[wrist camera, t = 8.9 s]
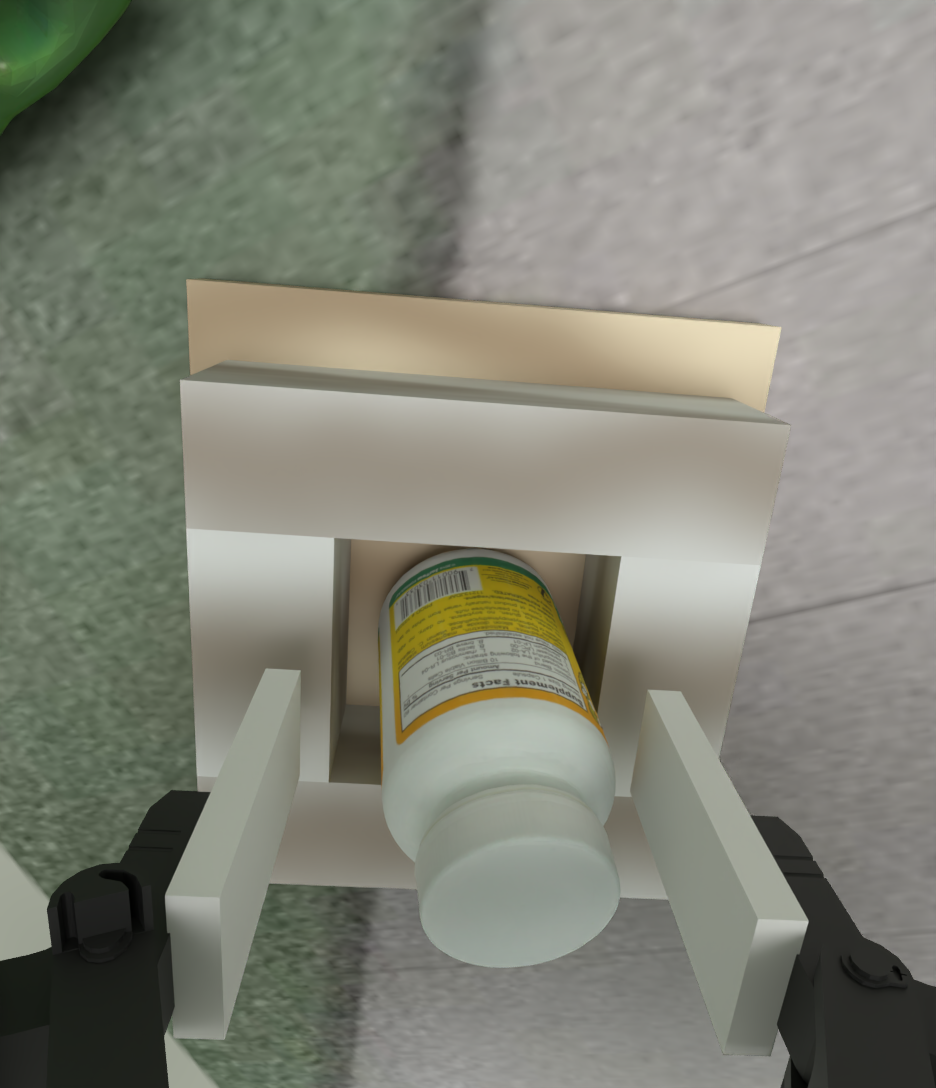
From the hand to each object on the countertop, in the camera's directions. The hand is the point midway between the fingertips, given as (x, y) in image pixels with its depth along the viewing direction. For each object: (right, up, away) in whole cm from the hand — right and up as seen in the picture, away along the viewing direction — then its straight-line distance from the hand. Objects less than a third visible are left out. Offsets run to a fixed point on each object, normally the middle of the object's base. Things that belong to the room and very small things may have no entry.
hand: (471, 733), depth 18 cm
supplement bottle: (0, +2, +6) cm, 6 cm away
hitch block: (0, +3, +8) cm, 8 cm away
